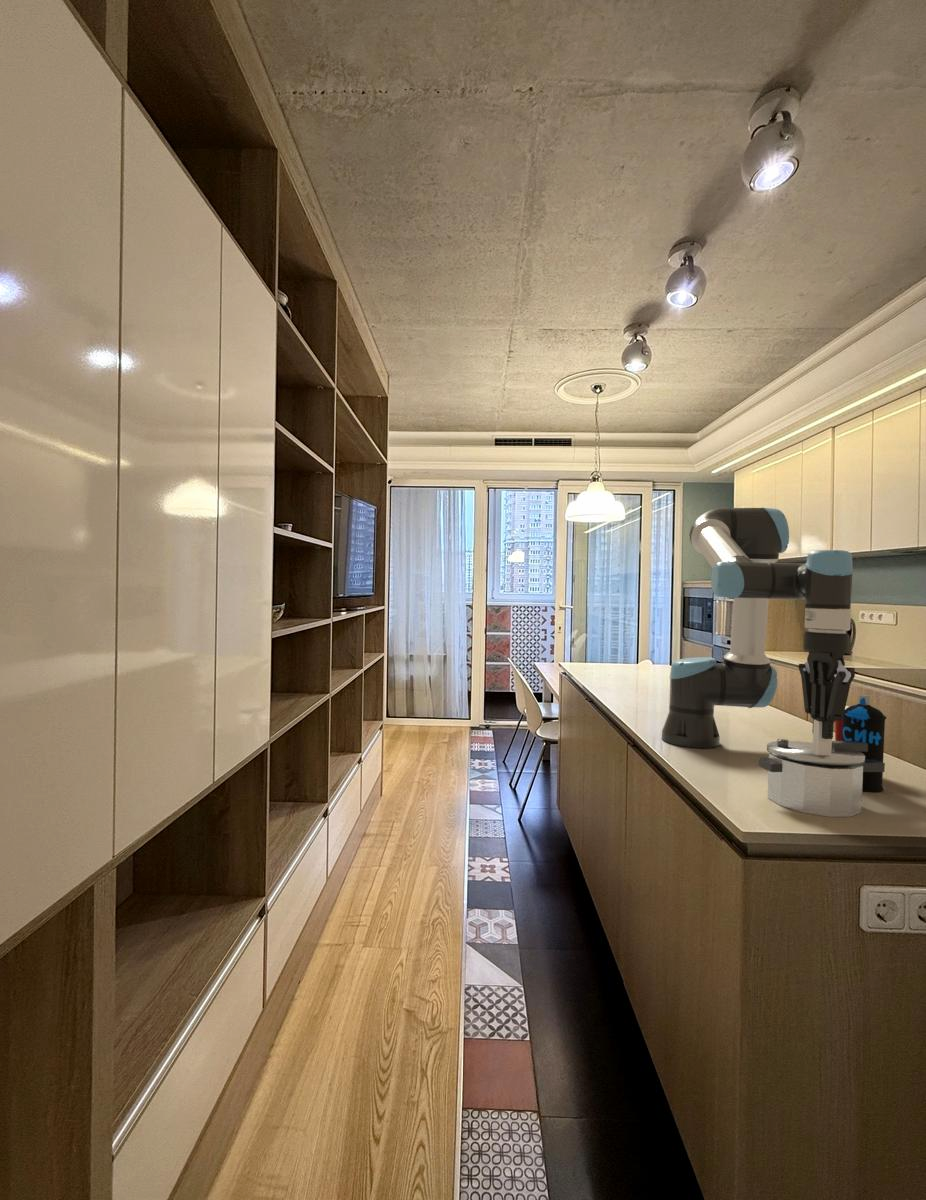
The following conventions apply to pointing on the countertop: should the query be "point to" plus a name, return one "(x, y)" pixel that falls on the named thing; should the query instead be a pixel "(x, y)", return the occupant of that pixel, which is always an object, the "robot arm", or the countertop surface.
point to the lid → (803, 752)
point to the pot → (817, 785)
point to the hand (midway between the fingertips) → (821, 754)
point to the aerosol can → (866, 737)
